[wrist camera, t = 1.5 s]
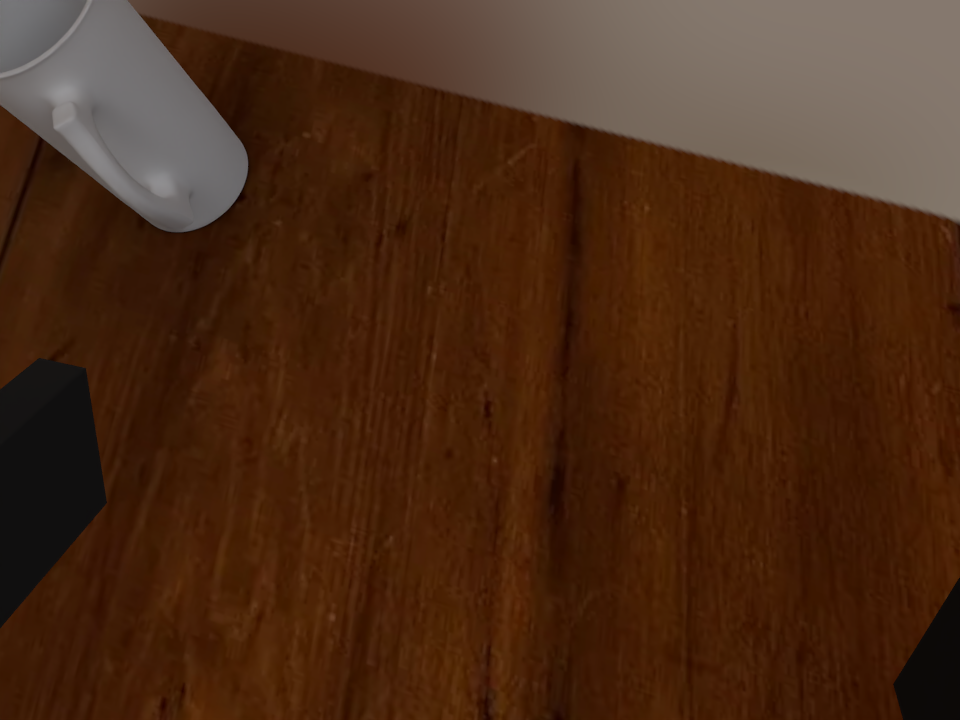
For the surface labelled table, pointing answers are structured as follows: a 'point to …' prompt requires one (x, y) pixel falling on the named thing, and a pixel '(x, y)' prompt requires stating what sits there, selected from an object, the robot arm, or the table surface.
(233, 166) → the mug
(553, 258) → the table surface
